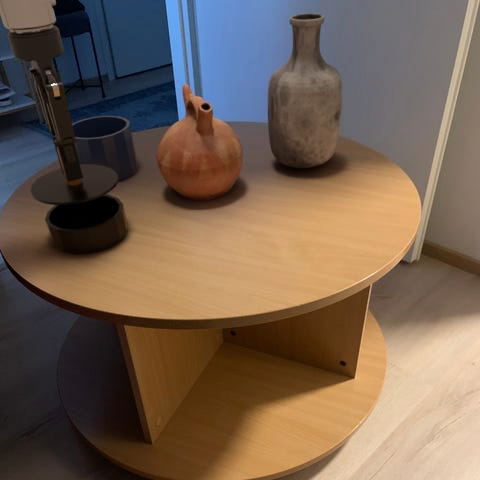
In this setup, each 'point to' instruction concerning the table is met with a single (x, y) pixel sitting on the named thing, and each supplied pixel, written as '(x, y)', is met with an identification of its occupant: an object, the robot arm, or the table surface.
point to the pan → (87, 225)
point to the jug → (199, 152)
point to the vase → (304, 100)
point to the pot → (106, 144)
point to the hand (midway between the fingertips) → (72, 175)
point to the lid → (74, 185)
